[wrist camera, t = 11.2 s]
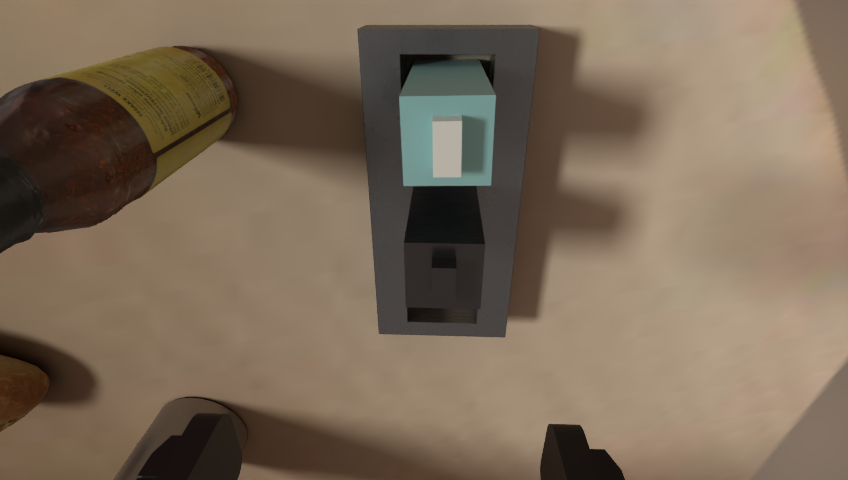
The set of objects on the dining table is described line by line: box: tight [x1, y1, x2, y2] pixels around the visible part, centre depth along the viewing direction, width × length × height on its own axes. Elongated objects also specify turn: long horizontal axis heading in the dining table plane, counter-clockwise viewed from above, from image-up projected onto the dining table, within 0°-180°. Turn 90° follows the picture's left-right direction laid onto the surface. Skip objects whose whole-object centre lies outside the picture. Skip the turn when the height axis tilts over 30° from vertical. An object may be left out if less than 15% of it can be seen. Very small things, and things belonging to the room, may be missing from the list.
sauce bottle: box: [0, 46, 238, 253], centre depth 21 cm, size 6×6×20 cm
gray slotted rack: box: [358, 25, 540, 337], centre depth 27 cm, size 22×10×12 cm, turn 0°
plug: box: [399, 59, 496, 186], centre depth 24 cm, size 4×4×12 cm
